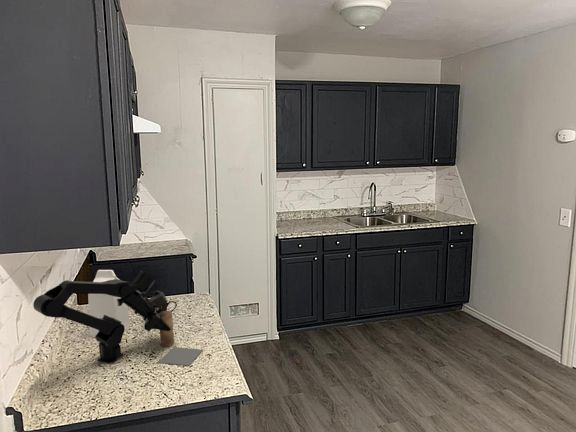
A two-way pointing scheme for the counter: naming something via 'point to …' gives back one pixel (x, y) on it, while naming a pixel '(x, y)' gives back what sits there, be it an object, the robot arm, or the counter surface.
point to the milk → (107, 303)
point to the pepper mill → (167, 336)
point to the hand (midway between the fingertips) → (170, 327)
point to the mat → (180, 356)
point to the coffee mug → (164, 306)
